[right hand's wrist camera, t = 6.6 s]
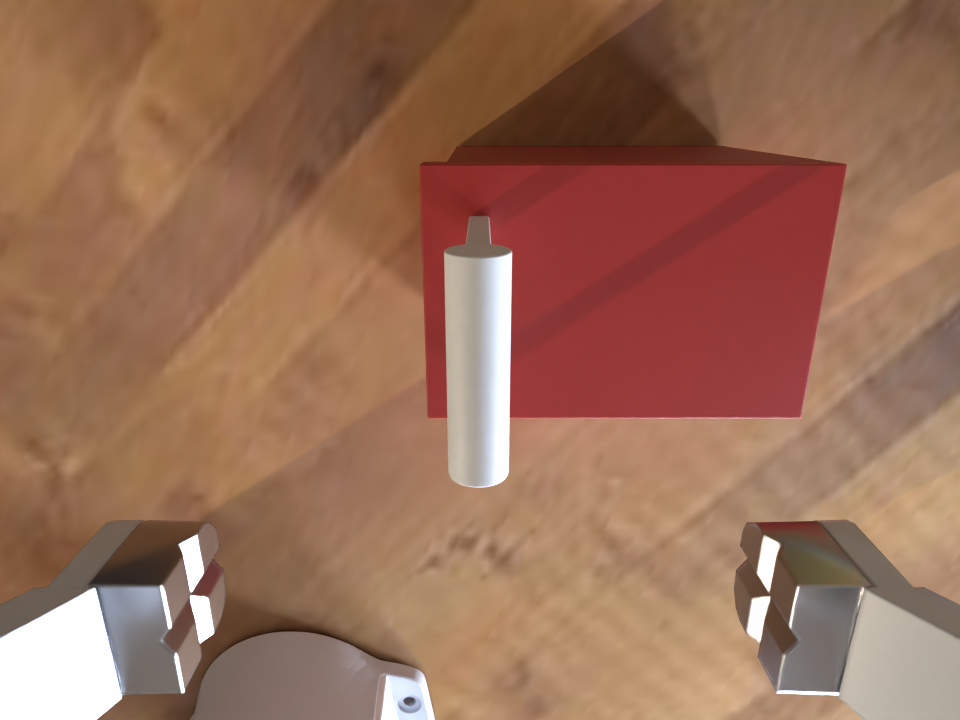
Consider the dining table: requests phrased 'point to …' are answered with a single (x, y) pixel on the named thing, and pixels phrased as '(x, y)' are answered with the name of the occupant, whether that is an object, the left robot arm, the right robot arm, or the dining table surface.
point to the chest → (615, 154)
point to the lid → (618, 293)
